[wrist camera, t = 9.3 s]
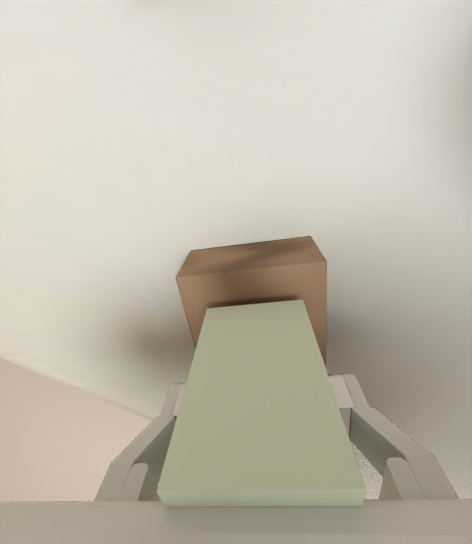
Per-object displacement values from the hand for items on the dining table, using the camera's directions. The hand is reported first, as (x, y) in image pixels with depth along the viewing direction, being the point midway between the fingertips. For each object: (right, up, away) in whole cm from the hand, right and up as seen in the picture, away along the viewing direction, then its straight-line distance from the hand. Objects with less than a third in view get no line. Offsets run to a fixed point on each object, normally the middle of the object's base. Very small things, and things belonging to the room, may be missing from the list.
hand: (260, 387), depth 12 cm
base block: (0, +4, +7) cm, 8 cm away
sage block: (0, +1, +3) cm, 3 cm away
